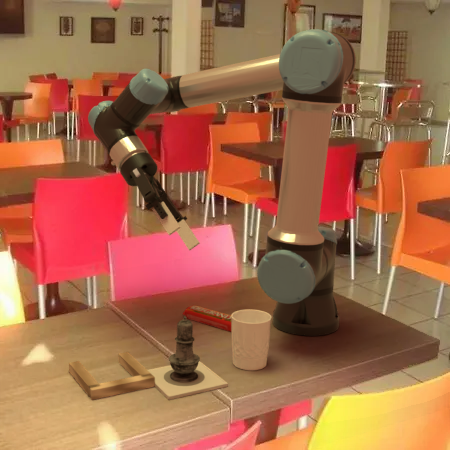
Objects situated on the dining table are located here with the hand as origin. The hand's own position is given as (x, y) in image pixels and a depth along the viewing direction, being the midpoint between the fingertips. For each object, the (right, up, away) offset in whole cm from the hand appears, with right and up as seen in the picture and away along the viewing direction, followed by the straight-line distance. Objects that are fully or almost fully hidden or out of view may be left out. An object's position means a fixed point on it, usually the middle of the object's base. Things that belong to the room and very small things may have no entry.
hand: (185, 239), depth 148 cm
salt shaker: (+1, -26, -13) cm, 29 cm away
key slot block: (-13, -26, -13) cm, 32 cm away
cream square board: (+1, -26, -13) cm, 29 cm away
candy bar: (+5, -20, +17) cm, 27 cm away
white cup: (+13, -25, -5) cm, 28 cm away
